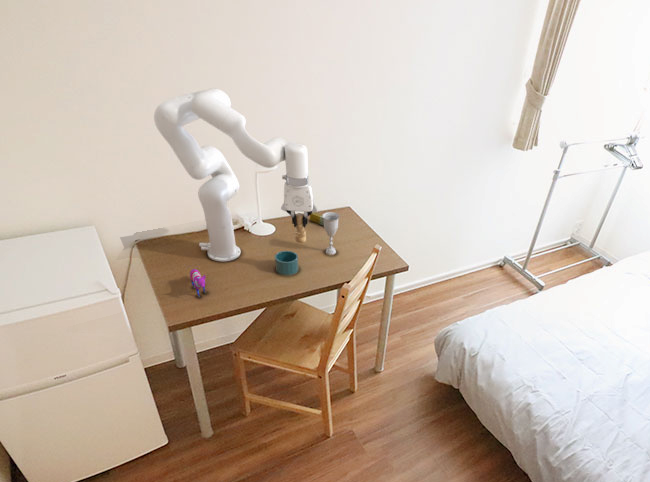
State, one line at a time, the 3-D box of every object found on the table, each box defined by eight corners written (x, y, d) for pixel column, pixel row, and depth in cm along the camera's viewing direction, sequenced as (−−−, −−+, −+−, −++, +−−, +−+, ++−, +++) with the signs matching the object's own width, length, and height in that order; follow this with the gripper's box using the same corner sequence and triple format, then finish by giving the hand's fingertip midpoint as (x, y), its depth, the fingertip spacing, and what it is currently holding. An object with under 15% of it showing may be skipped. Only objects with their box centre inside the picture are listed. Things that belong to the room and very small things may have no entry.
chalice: (334, 258, 200) (335, 221, 189) (320, 254, 200) (319, 217, 189) (341, 250, 206) (342, 214, 194) (326, 247, 206) (326, 210, 195)
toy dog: (201, 304, 164) (196, 281, 158) (187, 278, 174) (181, 255, 168) (212, 302, 166) (207, 278, 160) (197, 276, 176) (192, 253, 170)
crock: (274, 275, 184) (273, 262, 180) (277, 263, 191) (276, 250, 186) (297, 276, 186) (296, 263, 182) (299, 264, 192) (298, 251, 188)
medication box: (333, 226, 221) (334, 219, 219) (330, 228, 219) (331, 220, 217) (312, 218, 223) (312, 211, 221) (309, 220, 221) (309, 212, 219)
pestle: (295, 242, 177) (293, 216, 171) (296, 237, 180) (294, 211, 174) (305, 243, 178) (304, 217, 171) (306, 237, 181) (305, 212, 174)
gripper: (272, 182, 160) (276, 229, 171) (320, 185, 163) (321, 231, 174) (275, 173, 165) (279, 219, 177) (321, 177, 168) (322, 222, 180)
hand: (300, 225), depth 175 cm, fingers closed on pestle, 2 cm apart
